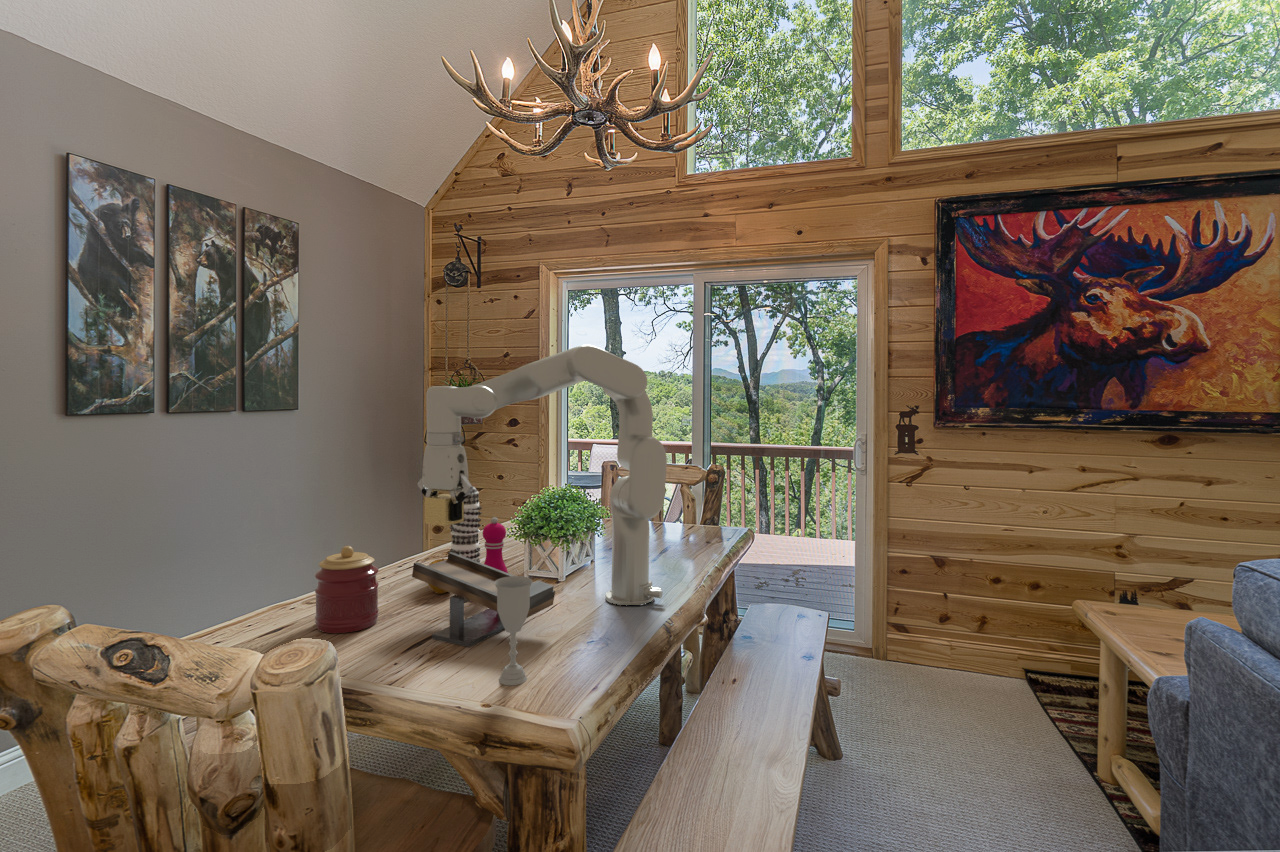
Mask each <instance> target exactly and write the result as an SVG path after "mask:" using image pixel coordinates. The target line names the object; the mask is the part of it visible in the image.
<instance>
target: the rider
mask: <svg viewBox="0 0 1280 852" xmlns="http://www.w3.org/2000/svg"><path fill="white" fill-rule="evenodd" d="M456 496H457V495H456ZM451 503H453V502H452V499H451V496H450V493H440V494H438V495H434V496H429V497H425V496H424V518H425V519H424V523H425V524H426V525H433V526H442V527H446V526H450V525H452V524H456V523H460V522H463V521H464V502H462V519H461V520H457V521H451V519H450V505H451Z"/></svg>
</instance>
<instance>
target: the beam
mask: <svg viewBox="0 0 1280 852" xmlns="http://www.w3.org/2000/svg"><path fill="white" fill-rule="evenodd" d="M447 554H448V555H447V558H446V559H447V560H443V561H440V562H437V563H434V564H431V565H429V564H427V565H425V564H423V563H420V562H418V561H416V562H413V567H412V575H411V577H412V578H415V579H417V580H419V581H422V582H423V583H426V584H427V585H428V584H431V585H433V586H436V587H438V588H440V589H443V590H445V591H448V593H451V594H453V595H458V596H463V597H464V604H467V603H469V602H473V603H475V604H478V605H480V606H482V607H484V608H487V609H492V610H494V611H496V612H498V611H497V588H496V585H495V581H496V580H498V579H500V578H503V577H509V576H515V575H514V574H511V573H509V572H508V573H506V572H503V571H501V570H498V569H495V568H493V567H490V566H487V565H485V564H484V563H482V562H480V563H479V562H477V561H474V560H471V559H469V558H466V557H463V556H461V555H458V554H455V553H453V552H451V551H449V552H448V553H447ZM555 595H556V591H555V590H554V585H553V584H549V583H547V582H544V581H542V580H536V581H533V582H532V584H531V586H530V608H529V611H528V614H527V617H526V619H528V618H530V617H532V616H534V615H536V614H537V613H540V612H542V611H544V610H545V609H547V608H549V607H551V606H553V605H554V601H555Z"/></svg>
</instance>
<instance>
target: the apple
mask: <svg viewBox="0 0 1280 852" xmlns="http://www.w3.org/2000/svg"><path fill="white" fill-rule="evenodd" d="M447 559H448V558H438V559H434V560H433V561H432V562H430V563H428V565H431V564H434V563H437V562H440V561H443V560H447ZM427 585H428V586H429V587H430V589H431V590H432V591H433V592H434V593H436V594H439V595H440V594H441V595H442V594H445V593H447V592H448V591H445V590H443V589H440V588H438V587H436V586H433V585H431V584H428V583H427ZM448 593H449V592H448Z"/></svg>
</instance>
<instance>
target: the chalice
mask: <svg viewBox="0 0 1280 852" xmlns="http://www.w3.org/2000/svg"><path fill="white" fill-rule="evenodd" d="M532 582H533V583H534V581H533V579H532V578H531V577H528V576H522V575H514V576H509V577H503V578H500V579H498V580H496V581H495V585H496V588H497V611H498V614H499V617H500V620H501V622H502V624H503V626H504V628H505V629H504V631H506V633H510V639H509V642H508V644H509V646H510V650H509V651H508V653H507V654H508V655H509V657H510V661H509V663H508V664H507V665H505V666H504V667H503V669H502V672H501V673H500V677H499V679H498V682H499V683H500V684H501V685H505V686H518V685H521V684H524V683H525V682H526V681H527V679H528V676H527V675H526V673H525V670H524V667H523V666H522V665H521V664H519V663H518V662H517V661H516V658H517V655H518V654H519V652H518V651H517V649H516V648H517V644H518V643H519V642H518V641H517V637H516V636H517V633H518V632H520V631H521V630H522V629H523V626H524V624H525V622H526V619H527V618H526V617H527V614H528V611H529V608H530V586H531V584H532Z"/></svg>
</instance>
